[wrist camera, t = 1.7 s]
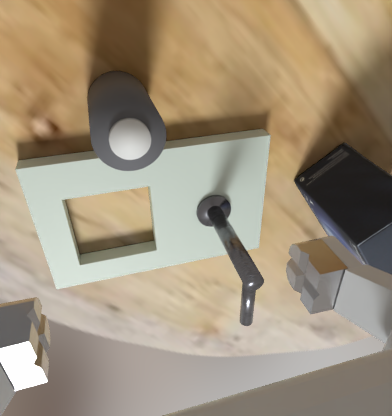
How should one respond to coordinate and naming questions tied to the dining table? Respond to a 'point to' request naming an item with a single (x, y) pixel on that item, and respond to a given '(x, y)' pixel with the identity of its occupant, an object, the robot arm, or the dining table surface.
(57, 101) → the dining table surface
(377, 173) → the small box
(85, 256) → the pale green board
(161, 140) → the grey cylinder with ball
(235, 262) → the grey angled rod part
